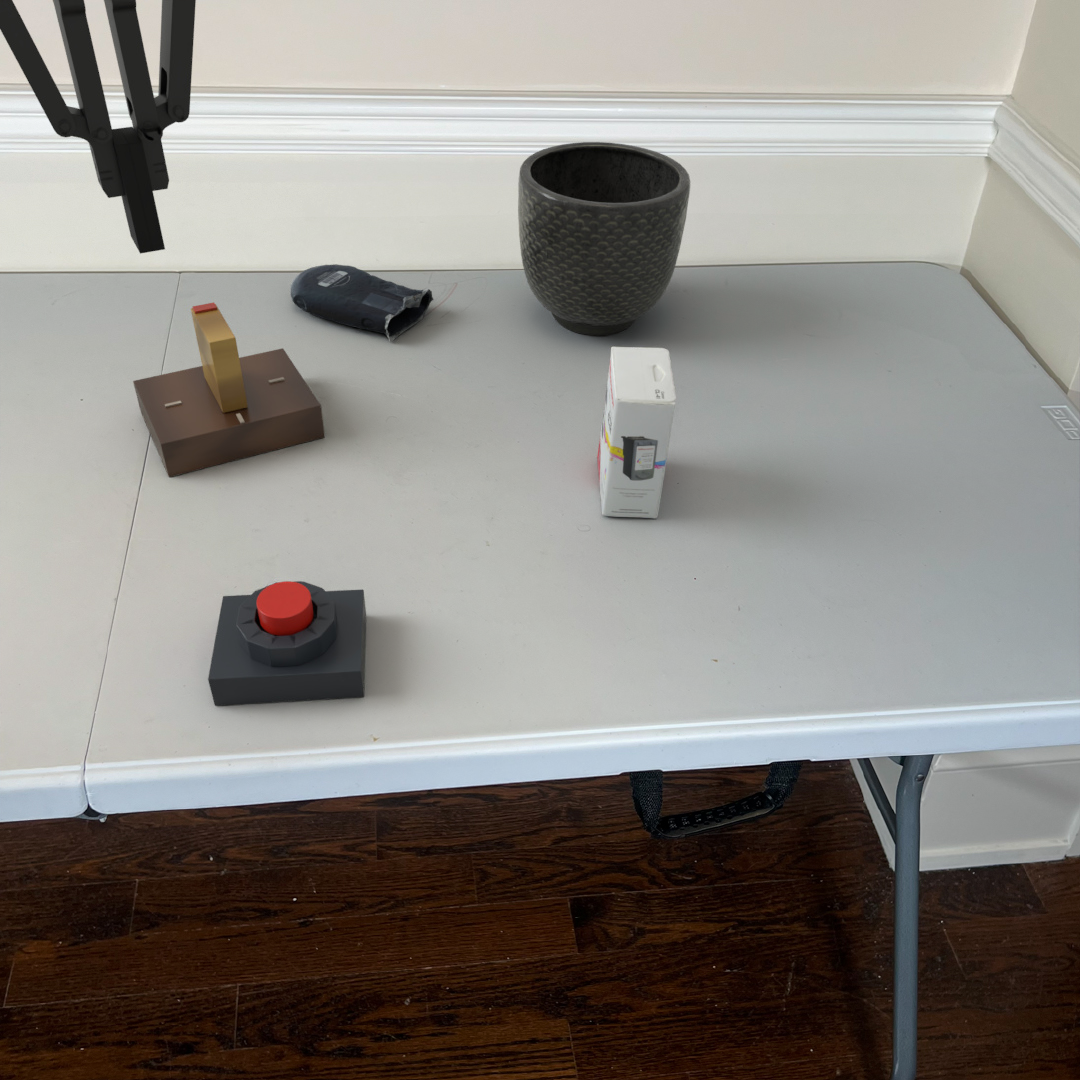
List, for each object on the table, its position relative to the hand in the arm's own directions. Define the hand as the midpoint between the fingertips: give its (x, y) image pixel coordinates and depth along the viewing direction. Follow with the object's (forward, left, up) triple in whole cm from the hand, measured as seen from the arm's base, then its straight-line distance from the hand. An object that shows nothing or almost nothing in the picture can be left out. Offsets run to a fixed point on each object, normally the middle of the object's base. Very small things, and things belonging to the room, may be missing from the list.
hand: (147, 242), depth 64 cm
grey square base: (+2, -12, -26) cm, 29 cm away
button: (+2, -12, -22) cm, 26 cm away
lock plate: (+6, +18, -26) cm, 33 cm away
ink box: (+34, -6, -27) cm, 44 cm away
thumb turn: (+6, +18, -23) cm, 30 cm away
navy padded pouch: (+24, +34, -27) cm, 49 cm away
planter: (+47, +22, -27) cm, 58 cm away
